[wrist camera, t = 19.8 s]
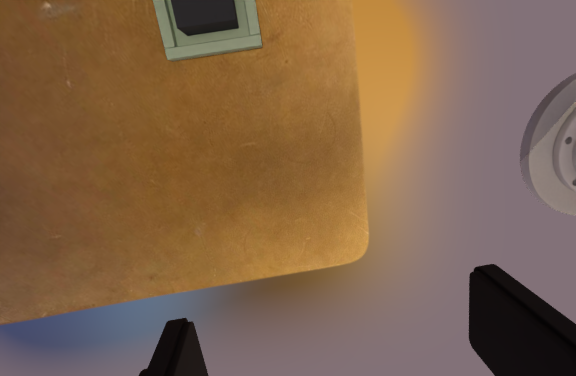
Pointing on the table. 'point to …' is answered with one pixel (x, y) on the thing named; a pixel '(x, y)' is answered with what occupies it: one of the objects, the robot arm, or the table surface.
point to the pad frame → (208, 43)
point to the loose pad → (204, 16)
